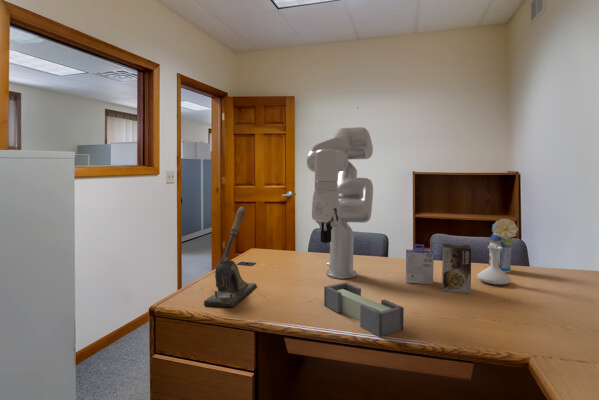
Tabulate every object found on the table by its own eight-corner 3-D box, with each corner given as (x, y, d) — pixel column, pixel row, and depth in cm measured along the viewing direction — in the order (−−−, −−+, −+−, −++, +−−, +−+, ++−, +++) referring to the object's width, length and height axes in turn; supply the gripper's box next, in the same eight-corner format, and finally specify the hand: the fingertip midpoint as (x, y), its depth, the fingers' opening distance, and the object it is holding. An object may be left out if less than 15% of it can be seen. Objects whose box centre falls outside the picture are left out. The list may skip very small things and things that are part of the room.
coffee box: (468, 288, 127) (469, 244, 125) (470, 294, 121) (472, 248, 119) (441, 285, 130) (442, 243, 128) (442, 291, 123) (443, 246, 122)
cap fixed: (360, 326, 95) (360, 305, 95) (384, 319, 99) (384, 299, 99) (378, 337, 89) (379, 314, 88) (403, 329, 93) (403, 307, 93)
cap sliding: (324, 305, 110) (324, 286, 110) (346, 300, 114) (346, 282, 114) (337, 312, 104) (338, 293, 103) (360, 307, 108) (360, 288, 108)
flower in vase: (472, 282, 133) (475, 218, 131) (481, 276, 141) (484, 215, 139) (512, 290, 124) (515, 221, 122) (519, 283, 132) (522, 218, 130)
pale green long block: (332, 308, 109) (333, 291, 108) (342, 305, 111) (342, 288, 110) (382, 332, 92) (382, 312, 92) (392, 328, 95) (392, 308, 94)
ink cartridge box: (431, 280, 136) (432, 244, 135) (433, 284, 131) (434, 246, 129) (405, 279, 138) (405, 243, 137) (406, 283, 133) (407, 245, 131)
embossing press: (200, 306, 110) (198, 212, 108) (233, 283, 133) (232, 205, 131) (232, 309, 108) (230, 213, 105) (260, 285, 130) (259, 206, 128)
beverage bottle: (511, 274, 144) (513, 226, 142) (487, 271, 148) (489, 225, 146) (510, 269, 151) (512, 223, 149) (488, 267, 155) (490, 222, 154)
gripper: (304, 186, 119) (304, 239, 120) (329, 188, 106) (329, 247, 107) (322, 186, 123) (322, 237, 124) (349, 187, 110) (348, 244, 111)
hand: (325, 242), depth 116 cm, fingers closed
